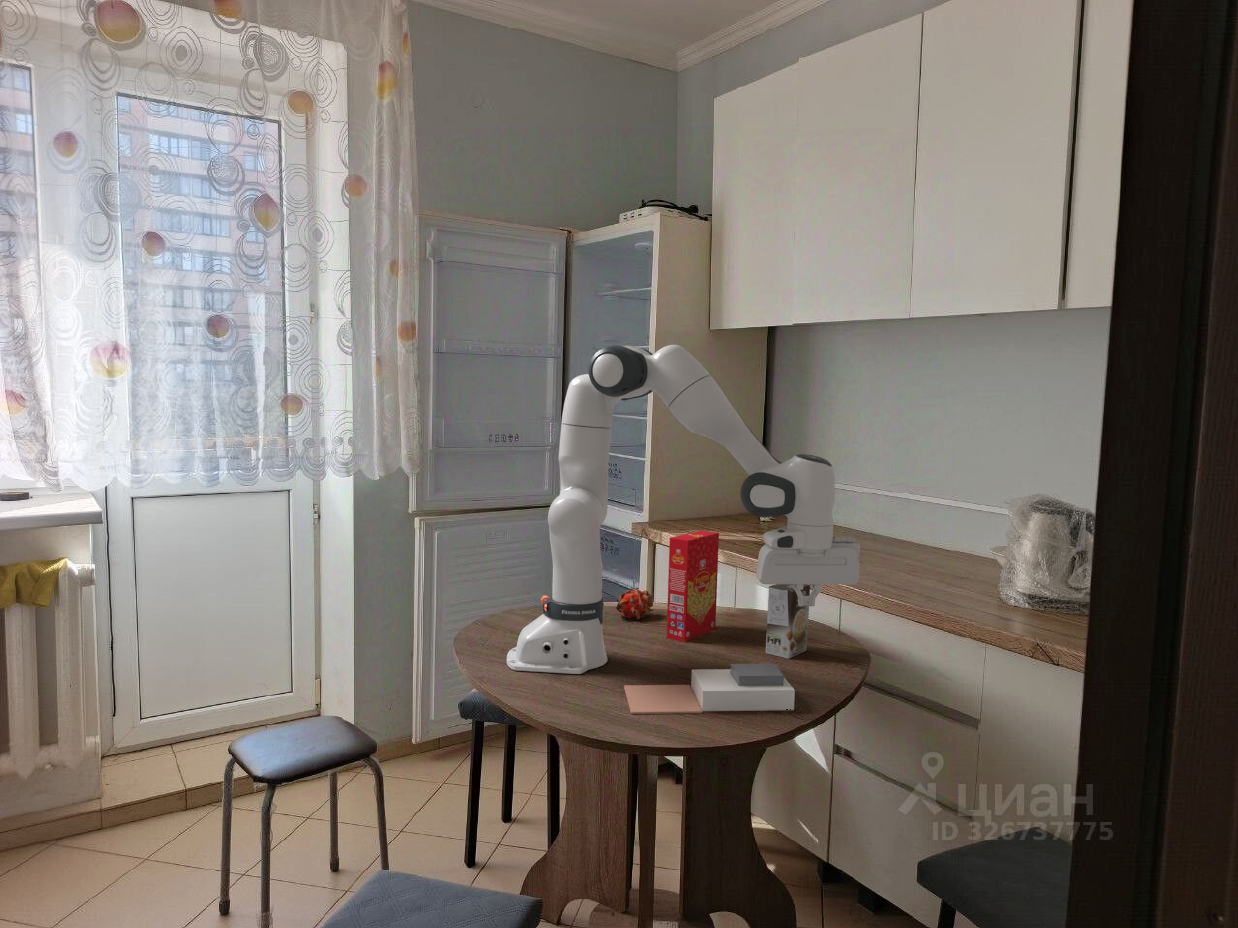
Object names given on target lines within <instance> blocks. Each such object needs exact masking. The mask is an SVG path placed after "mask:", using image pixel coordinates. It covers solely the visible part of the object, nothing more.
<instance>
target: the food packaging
mask: <svg viewBox="0 0 1238 928" xmlns="http://www.w3.org/2000/svg"><path fill="white" fill-rule="evenodd" d="M719 543H720V533H719V532H715V531H714V532H713V531H708V530H697V531H693V532H689V533H684V534H681V535H676V536H672V537H669V546H668V547H669V550H668V552H669V553H668V577H667V579H668V581H667V584H668V585H667V611H666V612H667V613H666V614H667V618H666V639H670V640H674V641H678V642H681V643H686V642H688V641H692V640H694V639H695V638H699V637H700V636H702V635H705V634H707V633H709V632H712V631H715V630H716V628H717V627H716V625H717V599H718V595H717V594H718V573H719V571H718V569H719V546H720V545H719Z"/></svg>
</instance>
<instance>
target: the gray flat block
mask: <svg viewBox="0 0 1238 928" xmlns="http://www.w3.org/2000/svg"><path fill="white" fill-rule="evenodd" d="M776 665H777V664H776V663H730V669H731V670H730V674H731V675H732V677H733V678H734V680H735V681H736V683H737V684H738V686H782V685H784V678H785V675H784V674H783V673H782V671H781V670H780V669H779V668H778V666H776Z"/></svg>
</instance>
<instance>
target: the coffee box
mask: <svg viewBox="0 0 1238 928" xmlns="http://www.w3.org/2000/svg"><path fill="white" fill-rule="evenodd" d="M800 590H801V589H800ZM801 592H802V594H803V596H809V595H810V593H811V584H803V590H801ZM767 600H768V601H767V618H766V636H765V638H766V639H765V654H767V655H768V654H769V655H772V656H776V657H778V658H779V657H780V658H784V659H786V660H787V659H792V658H793V657H795V656H798V655H800V654H802V653H804V652H806V651H807V648H808V647H807V646H808V631H809V615H810V606H799V605H798V595H797V593H796V591H795V590H794V588H793V584H771V585H769V586H768V598H767Z"/></svg>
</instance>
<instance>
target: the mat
mask: <svg viewBox="0 0 1238 928" xmlns="http://www.w3.org/2000/svg"><path fill="white" fill-rule="evenodd" d="M623 688H624V689H623V690H624V691H625V692H624V693H625V696H626V699H627V705H628V706H629V710H630V714H631V715H658V714H659V715H662V714H663V715H669V714H672V715H673V714H674V715H675V714H678V715H679V714H680V715H681V714H703V711H702V709H701V707H700V705H699V703H698V701H697V699H696V697H695V695H694V693H693V691H692V689H691V684H645V685H643V684H638V685H637V684H635V685H633V684H629V685H628V684H625V685H623Z"/></svg>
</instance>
